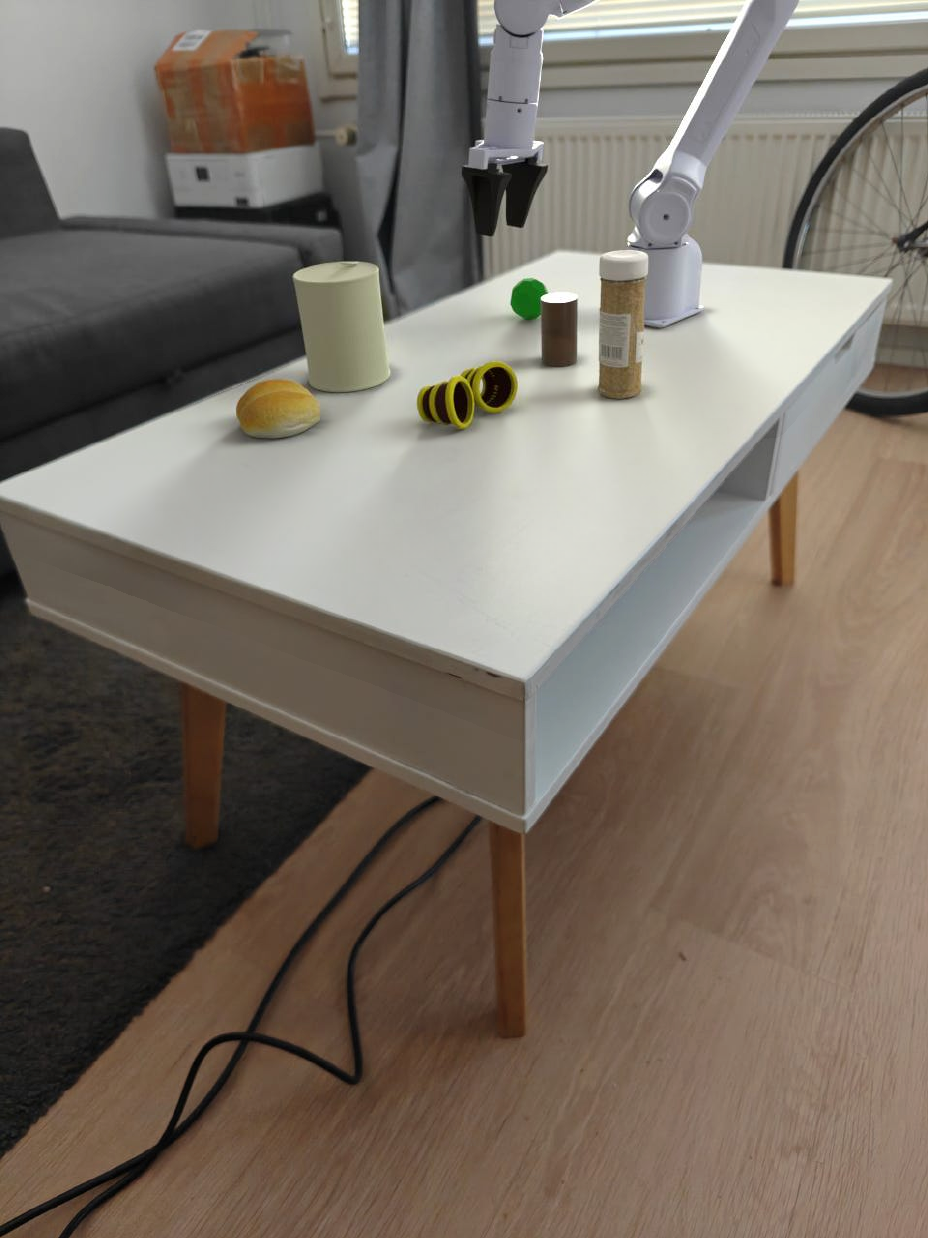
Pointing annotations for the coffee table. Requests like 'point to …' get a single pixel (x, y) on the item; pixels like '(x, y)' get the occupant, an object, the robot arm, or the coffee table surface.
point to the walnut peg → (559, 329)
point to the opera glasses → (468, 395)
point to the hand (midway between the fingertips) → (500, 230)
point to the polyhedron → (528, 298)
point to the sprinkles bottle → (621, 322)
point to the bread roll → (277, 409)
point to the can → (342, 325)
